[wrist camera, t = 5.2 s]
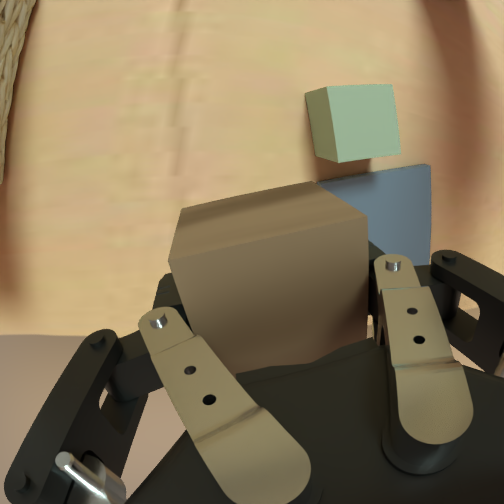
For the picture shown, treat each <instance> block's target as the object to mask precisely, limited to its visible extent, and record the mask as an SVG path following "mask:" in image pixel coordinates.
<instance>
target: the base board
mask: <svg viewBox="0 0 504 504" xmlns="http://www.w3.org/2000/svg"><path fill="white" fill-rule="evenodd" d="M317 185H319V186H320V187H322V188H324V189H325V190H327V191H329V192H330V193H332V194H333V195H335V196H337V197H338V198H340V199H341V200H343V201H345V202H346V203H348V204H349V205H351V206H353V207H354V208H356V209H357V210H359V211H360V212H362V213H363V214H365V215H366V216H367V217H368V240H369V241H371V242H372V243H373V244H374V246H375V245H376V246H377V247H378V248H379V249H380V250H382V251H383V252H384V253H385V254H398V255H403V256H405V257H407V258H409V259H410V260H411V262H412V264H413V266H419V265H429V258H430V240H431V169H430V165H426V164H422V165H415V166H408V167H401V168H395V169H388V170H382V171H376V172H370V173H364V174H358V175H352V176H347V177H341V178H335V179H330V180H325V181H319V182H317Z"/></svg>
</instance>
